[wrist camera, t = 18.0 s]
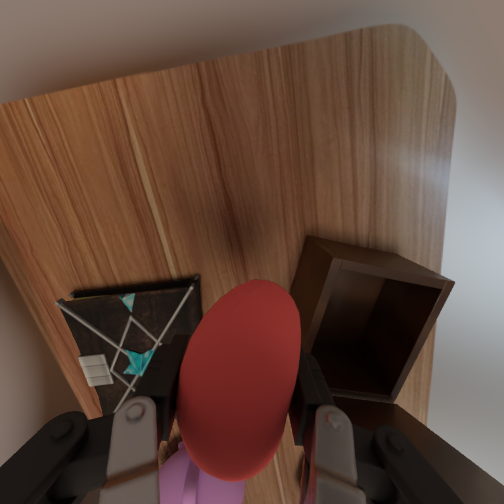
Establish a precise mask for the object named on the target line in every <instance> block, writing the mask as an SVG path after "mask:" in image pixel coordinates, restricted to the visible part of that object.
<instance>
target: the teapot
mask: <svg viewBox="0 0 504 504" xmlns="http://www.w3.org/2000/svg"><path fill="white" fill-rule="evenodd" d="M178 448H179V450H178V451H177V452H176V453H174V454H173V455H172V456H171V457H170V458H169V459H168V460H167V461H166V462H165V463H164V464H163V466H162V467H161V469H160V471H159V490H160V504H242V503H243V498H244V492H245V480H243V481H237V482H229V481H223V480H220V479H218V478H216V477H213V476H211V475H209V474H207V473H205V472H204V471H203V470H201V469H200V468H199V467H197V465H196V464H195V463H194V462H193V460H192V459H191V458H190V456H189V454H188V452H187V450H186V448H185V445H184V442H183V441H181V442H179V444H178Z"/></svg>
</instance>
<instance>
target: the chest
mask: <svg viewBox="0 0 504 504" xmlns="http://www.w3.org/2000/svg"><path fill="white" fill-rule="evenodd" d="M454 284H455V282H454V281H452V280H450V279H448V278H446V277H444V276H442V275H440V274H438V273H435V272H433V271H431V270H429V269H427V268H425V267H423V266H421V265H419V264H417V263H414V262H412V261H410V260H408V259H406V258H404V257H402V256H400V255H398V254H393V253H388V252H384V251H379V250H374V249H369V248H365V247H360V246H355V245H350V244H345V243H341V242H336V241H331V240H326V239H322V238H317V237H312V236H307V237H306V240H305V244H304V247H303V250H302V254H301V257H300V261H299V264H298V267H297V271H296V274H295V278H294V281H293V284H292V288H291V291H290V296H291V297H292V298H293V300H294V302H295V304H296V307H297V309H298V312H299V315H300V326H301V344H302V347H303V350H304V353H310V354H311V355H312V356H313V357H314V358H315V359H316V360H317V361H318V364H319V366H320V369H321V372H322V373H323V376H324V379H325V381H326V383H327V385H328V388H329V390H330V392H331V395H333V396H340V397H348V398H356V399H363V400H371V401H379V402H387V403H394V402H395V400H396V398H397V396H398V394H399V392H400V390H401V388H402V386H403V384H404V382H405V380H406V378H407V376H408V374H409V372H410V370H411V368H412V366H413V364H414V363H415V361H416V359H417V357H418V355H419V353H420V351H421V349H422V347H423V345H424V343H425V341H426V339H427V337H428V335H429V333H430V331H431V329H432V327H433V325H434V323H435V321H436V319H437V318H438V316H439V314H440V311H441V310H442V308H443V306H444V304H445V302H446V300H447V298H448V296H449V294H450V292H451V290H452V288H453V286H454Z"/></svg>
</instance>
